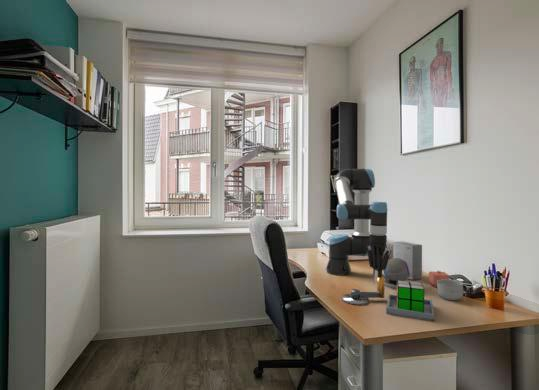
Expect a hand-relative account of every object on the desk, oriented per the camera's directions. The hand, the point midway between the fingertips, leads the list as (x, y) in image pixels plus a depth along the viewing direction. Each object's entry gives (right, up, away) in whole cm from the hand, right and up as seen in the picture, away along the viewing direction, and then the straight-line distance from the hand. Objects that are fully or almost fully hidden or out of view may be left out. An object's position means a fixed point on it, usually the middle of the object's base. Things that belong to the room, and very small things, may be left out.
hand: (377, 283), depth 145 cm
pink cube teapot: (+39, -7, +17) cm, 43 cm away
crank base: (-12, -7, -4) cm, 14 cm away
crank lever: (-6, -5, -4) cm, 9 cm away
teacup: (+36, -7, 0) cm, 36 cm away
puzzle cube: (+9, -6, -15) cm, 18 cm away
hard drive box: (+31, -7, +37) cm, 48 cm away
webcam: (+16, -7, +18) cm, 25 cm away
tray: (+9, -7, -15) cm, 18 cm away
